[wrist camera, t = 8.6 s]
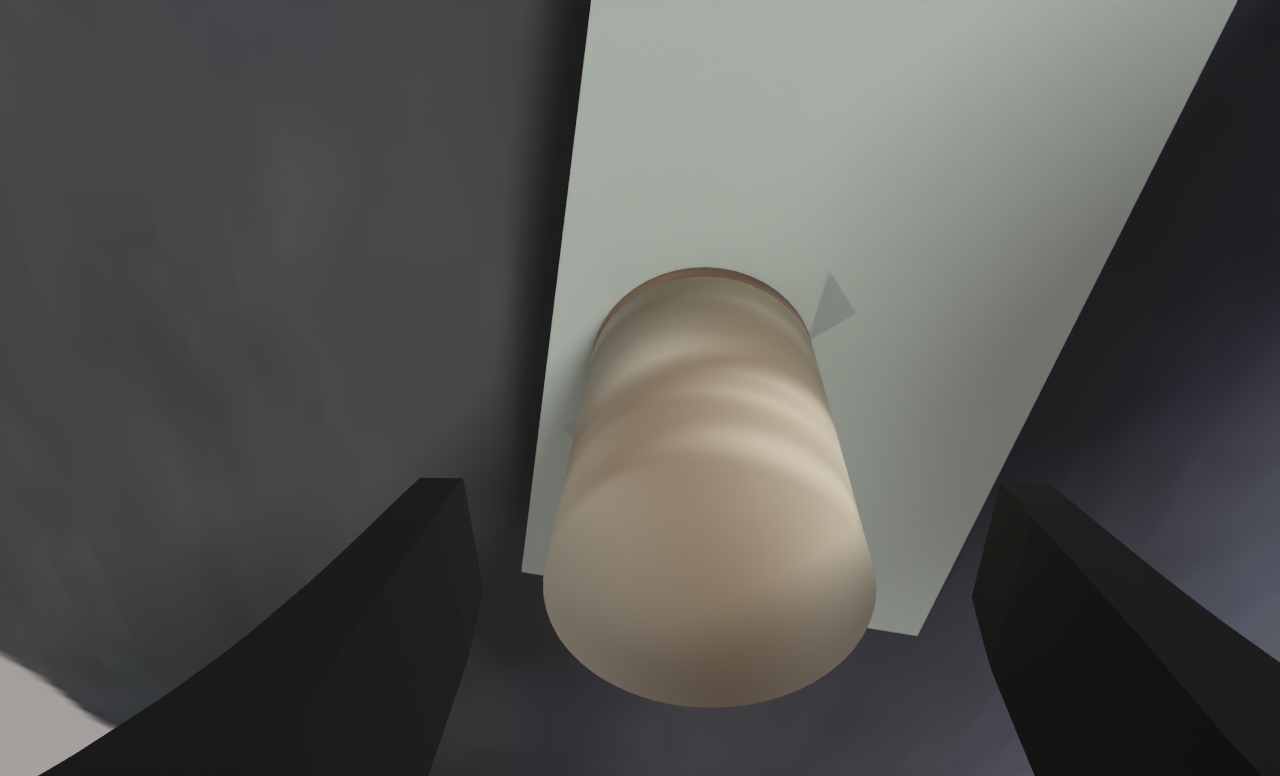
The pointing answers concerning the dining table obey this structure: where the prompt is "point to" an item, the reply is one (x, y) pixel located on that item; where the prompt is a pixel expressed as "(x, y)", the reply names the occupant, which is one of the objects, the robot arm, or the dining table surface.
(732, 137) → the board
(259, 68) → the dining table surface
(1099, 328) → the dining table surface
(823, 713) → the dining table surface
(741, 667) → the peg
